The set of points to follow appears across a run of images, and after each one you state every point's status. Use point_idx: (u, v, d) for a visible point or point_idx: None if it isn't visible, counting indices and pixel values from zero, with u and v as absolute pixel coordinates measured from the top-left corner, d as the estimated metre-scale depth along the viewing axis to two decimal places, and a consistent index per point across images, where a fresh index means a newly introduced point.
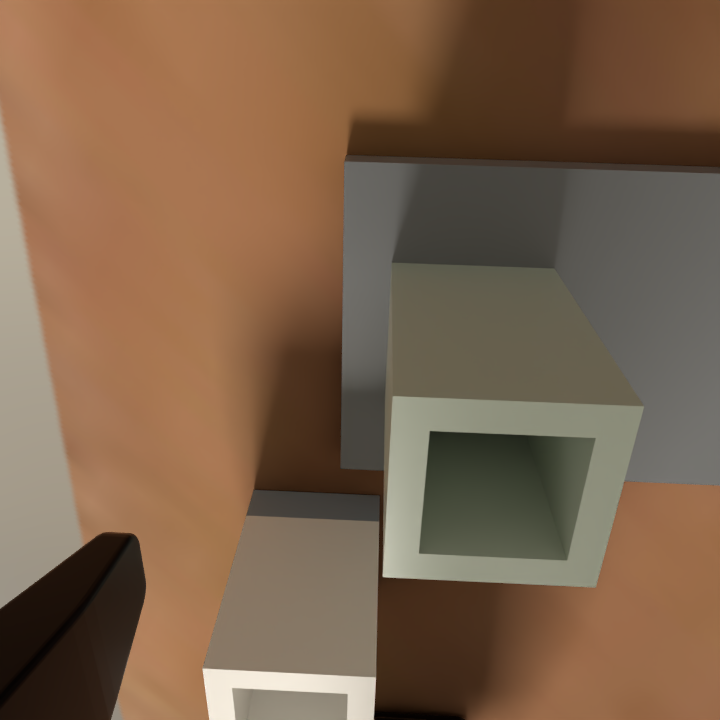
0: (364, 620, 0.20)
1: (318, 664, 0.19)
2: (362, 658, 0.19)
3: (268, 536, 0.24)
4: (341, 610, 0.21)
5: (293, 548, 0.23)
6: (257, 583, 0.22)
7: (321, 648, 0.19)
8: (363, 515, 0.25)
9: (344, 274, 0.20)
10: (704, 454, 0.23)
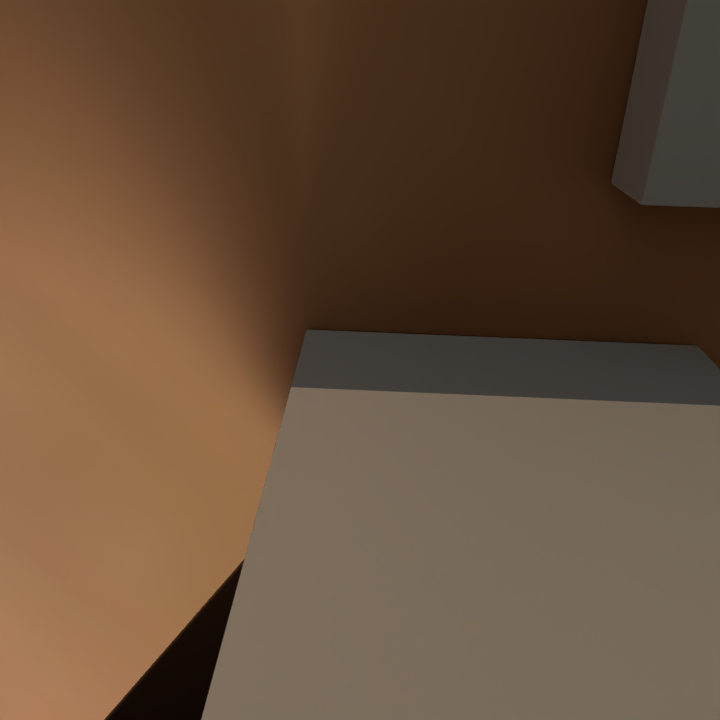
0: None
1: None
2: None
3: (382, 446, 0.06)
4: None
5: (493, 489, 0.06)
6: (379, 645, 0.04)
7: None
8: (689, 390, 0.07)
9: None
10: None
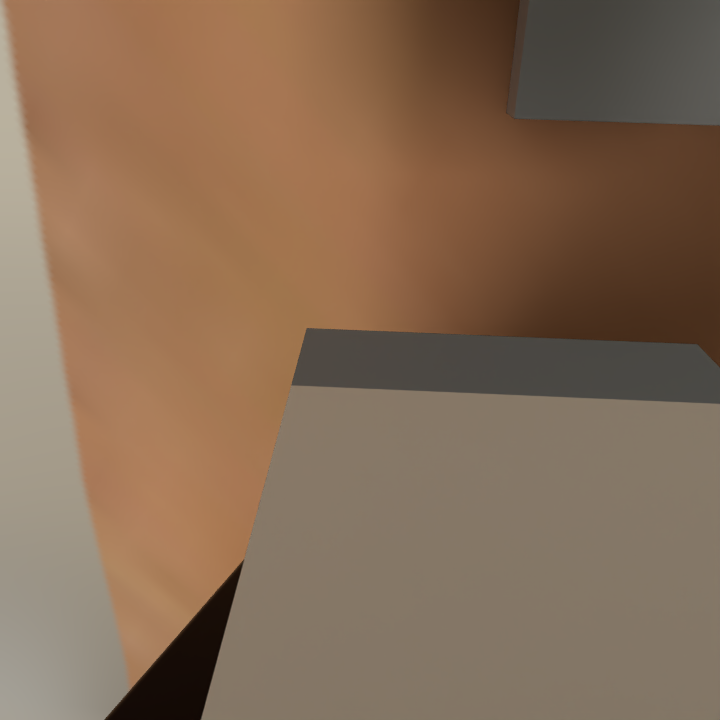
0: None
1: None
2: None
3: (382, 445, 0.06)
4: None
5: (492, 487, 0.06)
6: (379, 642, 0.04)
7: None
8: (687, 388, 0.07)
9: None
10: None
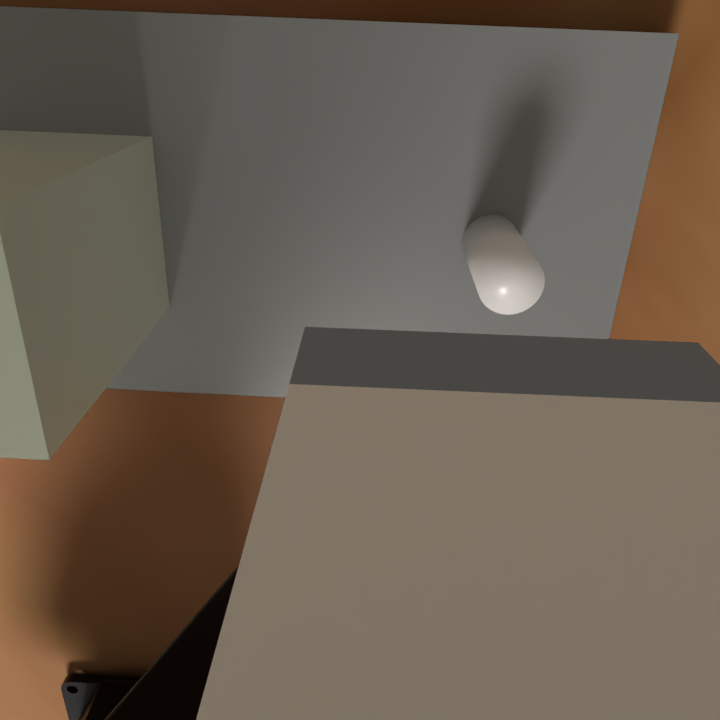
0: None
1: None
2: None
3: (381, 443, 0.06)
4: None
5: (492, 484, 0.06)
6: (377, 643, 0.04)
7: None
8: (689, 388, 0.07)
9: None
10: None
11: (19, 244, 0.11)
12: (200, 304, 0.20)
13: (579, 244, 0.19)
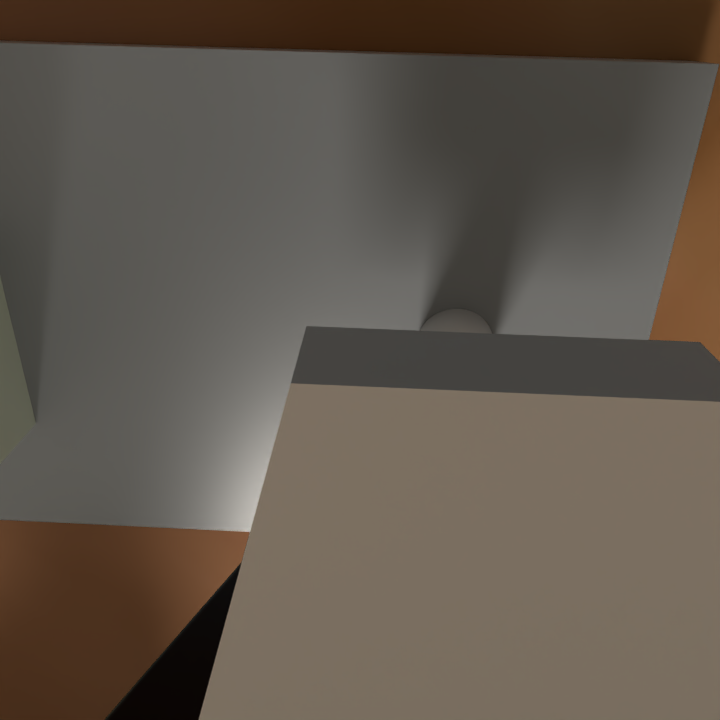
0: None
1: None
2: None
3: (383, 443, 0.06)
4: None
5: (495, 485, 0.06)
6: (380, 642, 0.04)
7: None
8: (691, 388, 0.07)
9: None
10: None
11: None
12: (76, 420, 0.15)
13: None
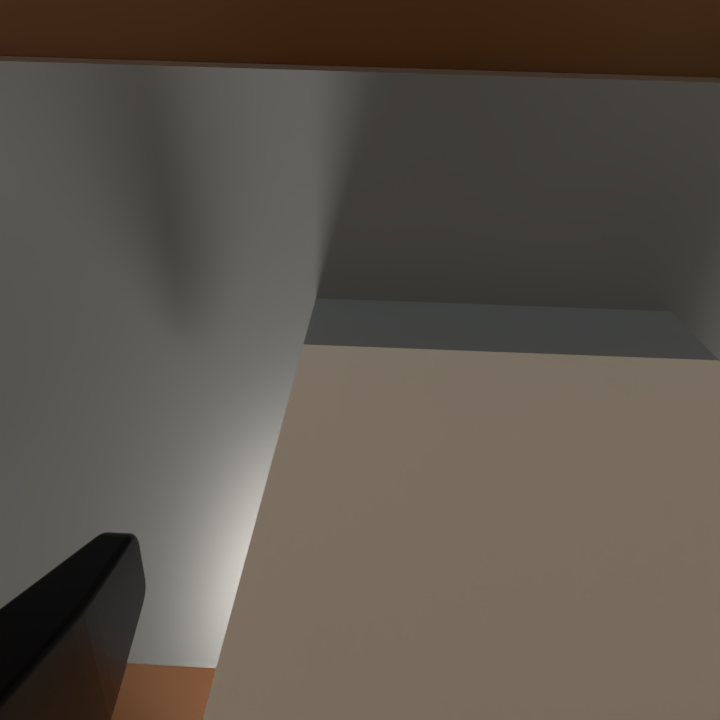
0: None
1: None
2: None
3: (385, 390, 0.07)
4: None
5: (481, 422, 0.06)
6: (383, 534, 0.05)
7: None
8: (659, 347, 0.08)
9: None
10: None
11: None
12: None
13: None
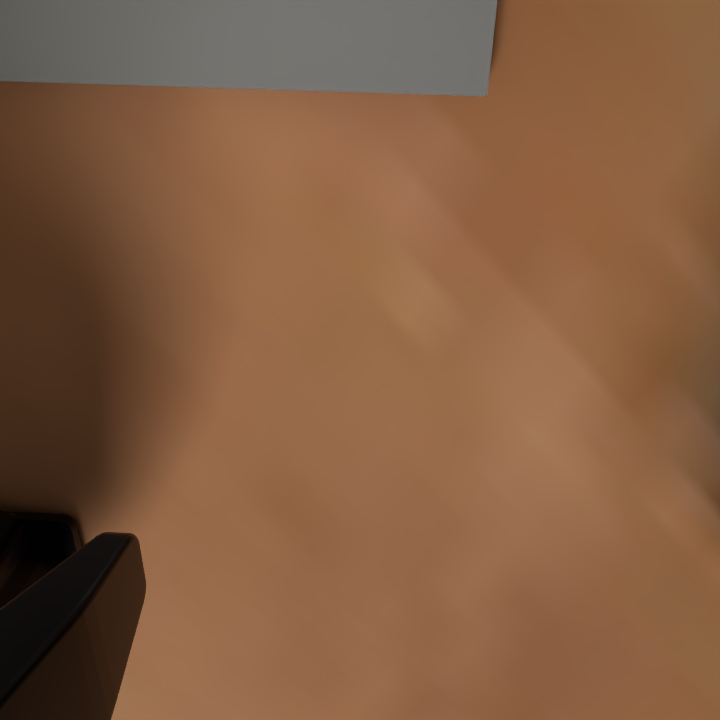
0: None
1: None
2: None
3: None
4: None
5: None
6: None
7: None
8: None
9: None
10: (206, 30, 0.16)
11: None
12: None
13: None
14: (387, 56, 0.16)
